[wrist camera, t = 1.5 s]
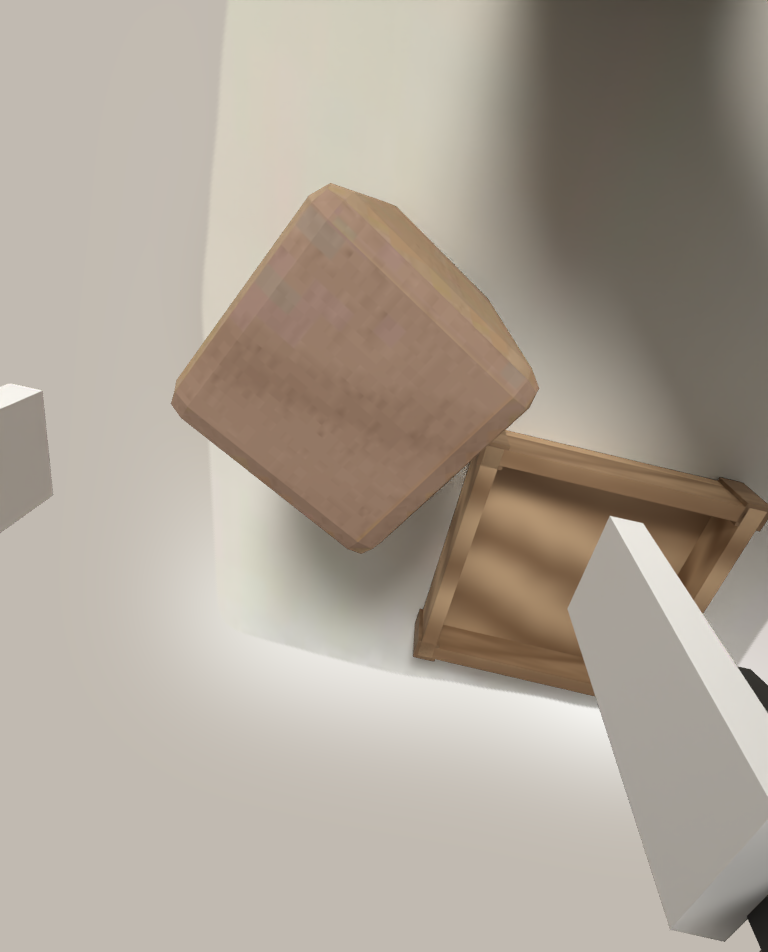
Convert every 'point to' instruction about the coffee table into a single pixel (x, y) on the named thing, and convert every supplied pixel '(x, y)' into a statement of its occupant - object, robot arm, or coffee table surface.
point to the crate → (563, 551)
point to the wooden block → (355, 369)
